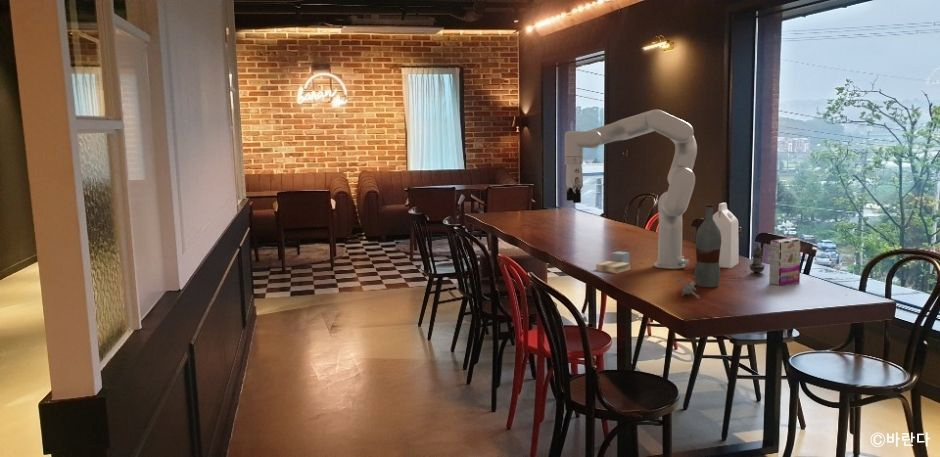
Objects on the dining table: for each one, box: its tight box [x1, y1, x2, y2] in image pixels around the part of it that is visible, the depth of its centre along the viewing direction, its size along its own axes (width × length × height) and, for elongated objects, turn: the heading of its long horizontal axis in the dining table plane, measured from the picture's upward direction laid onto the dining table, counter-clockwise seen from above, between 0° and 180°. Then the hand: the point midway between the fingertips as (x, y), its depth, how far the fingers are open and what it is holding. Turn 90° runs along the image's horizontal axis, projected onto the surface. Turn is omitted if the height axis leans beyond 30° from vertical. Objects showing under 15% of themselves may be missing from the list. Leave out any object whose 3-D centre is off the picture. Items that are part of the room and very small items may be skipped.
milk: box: [713, 202, 740, 269], centre depth 303 cm, size 12×12×26 cm
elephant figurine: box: [676, 278, 701, 300], centre depth 248 cm, size 10×6×9 cm
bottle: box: [693, 203, 722, 288], centre depth 264 cm, size 9×9×30 cm
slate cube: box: [610, 251, 631, 263], centre depth 305 cm, size 6×6×6 cm
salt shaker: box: [748, 244, 766, 277], centre depth 282 cm, size 6×6×12 cm
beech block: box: [595, 260, 631, 274], centre depth 296 cm, size 10×10×3 cm
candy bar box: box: [768, 237, 802, 287], centre depth 266 cm, size 11×5×16 cm, turn 118°
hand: (573, 201), depth 301 cm, fingers open, 9 cm apart
